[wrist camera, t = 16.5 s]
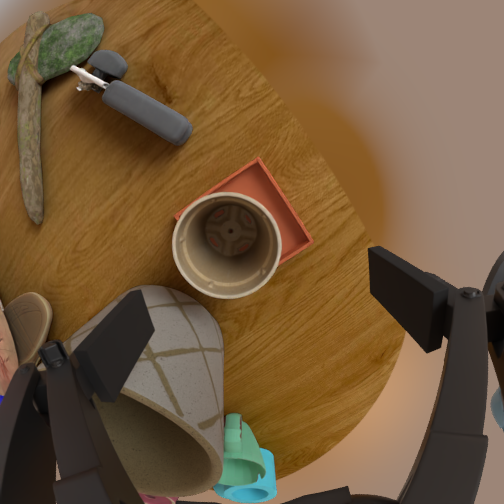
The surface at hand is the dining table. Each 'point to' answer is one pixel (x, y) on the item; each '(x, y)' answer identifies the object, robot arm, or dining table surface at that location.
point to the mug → (240, 453)
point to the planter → (168, 398)
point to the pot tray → (271, 197)
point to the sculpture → (6, 355)
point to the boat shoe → (28, 325)
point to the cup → (253, 485)
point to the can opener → (132, 98)
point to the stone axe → (35, 74)
